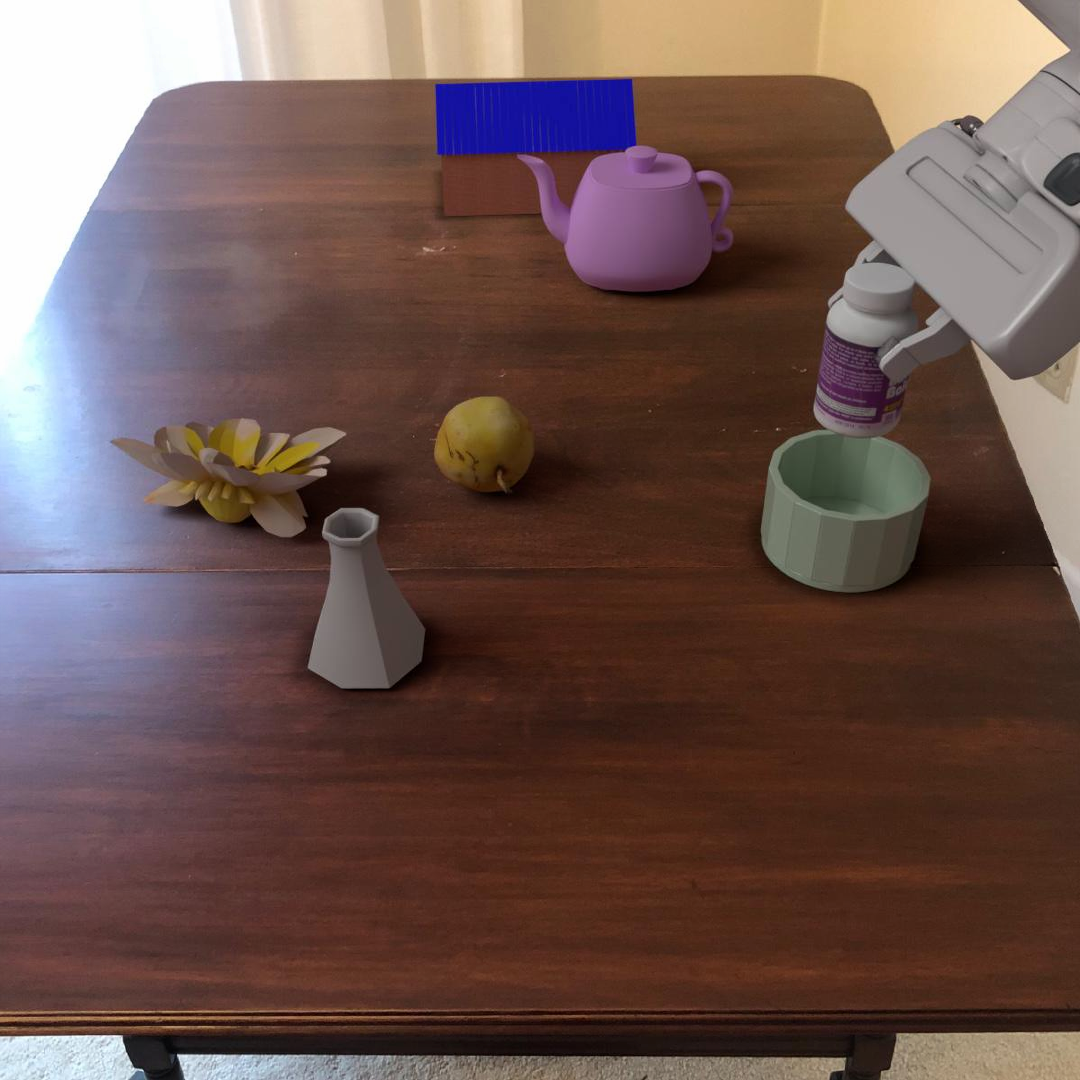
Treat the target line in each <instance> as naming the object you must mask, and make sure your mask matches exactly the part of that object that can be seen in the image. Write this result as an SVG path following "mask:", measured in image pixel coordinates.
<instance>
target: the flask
mask: <svg viewBox="0 0 1080 1080" xmlns="http://www.w3.org/2000/svg"><path fill="white" fill-rule="evenodd" d="M379 523H380V515H378V514H376V513H374V512H372V511H370V510H368V509H366V508H363V507H340V508H339V509H338V510H336V511H335V512H333V513H331V514H330V515H329V516H327V517H326V518H325V519H324V523H323V527H322V530H321V536H322V538H323V539H324V541H327V542H328V546H329V553H330V554H329V555H330V569H329V583H328V586H327V591H326V594H325V599H324V603H323V605H322V608H321V612H320V615H319V619H318V622H317V626H316V629H315V633H314V638H313V641H312V646H311V651H310V655H309V659H308V660H309V661H308V664H307V669H308V670H310V671H312V672H313V673H315V674H316V675H318V676H320V677H322V678H323V679H325V680H327V681H328V682H330V683H332V684H333V685H335V686H337V687H338V688H340V689H390V688H392V687H393V686H394V685H395V684H396V683H398V682H399V681H400V680H401V679H402V678H404V677H405V676H406V675H407V674H409V672H410V671H412V670H413V669H414V668H415V667H417V666H418V665H419V664H420V663H421V662H422V661H423V652H424V643H425V634H426V628H425V627H424V625H423V623H422V621H421V620H420V618H419V617H418V616H417V614H416V613H415V611H414V610H413V608H412V607H411V606H410V604H409V602H408V601H407V599H406V598H405V596H404V595H403V593H402V592H401V590H400V588H399V587H398V585H397V584H396V582H395V580H394V578H393V577H392V575H391V574H390V572H389V570H388V569H387V566H386V565H385V563H384V559H383V557H382V554H381V552H380V548H379V546H378V541H377V539H378V538H377V535H378V529H379Z"/></svg>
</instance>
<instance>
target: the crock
mask: <svg viewBox="0 0 1080 1080" xmlns="http://www.w3.org/2000/svg"><path fill="white" fill-rule="evenodd" d="M766 478H767V479H766V487H765V495H764V503H763V510H762V518H761V526H760V533H761V534H760V542H761V545H762V546H761V547H762V548H763V551H764V553H765V555H766V556H767V558H768V559H769V561H770V562H771V563H772V564H773V565H774V566H775V568H777V569H778V570H779V571H780V572H782V573H783V574H785V575H786V576H788V577H789V578H791V579H793V580H795V581H797V582H799V583H802V584H804V585H806V586H809V587H812V588H815V589H820V590H824V591H829V592H834V593H845V594H846V593H864V592H870V591H876V590H879V589H882V588H886V587H888V586H890V585H892V584H894V583H896V582H897V581H899V580H900V579H901V578H902V577H904V576H905V575H906V574H907V572H908V571H909V570H910V568H911V566H912V564H913V561H914V560H915V556H916V551H917V547H918V543H919V538H920V534H921V529H922V525H923V521H924V517H925V513H926V508H927V504H928V499H929V495H930V489H931V488H930V487H931V481H932V477H931V475H930V473H929V472H928V470H927V468H926V466H925V464H924V462H923V461H922V459H920V457H918V455H915V453H913V452H911V451H910V450H909V449H908V448H906V446H903V444H900V443H899V442H896V441H893V440H891V439H888V438H885V437H883V436H879V437H874V438H864V439H862V438H851V437H846V436H842V435H839V434H836V433H834V432H832V431H830V430H828V429H816V430H811V431H808V432H805V433H801V434H799V435H794V436H792V437H789V438H788V439H787V440H786V441H784V443H782V444H781V445H780V446H778V447H777V448H776V449H775V450H774V451H773V453H772V456H771V460H770V462H769V465H768V471H767V477H766Z"/></svg>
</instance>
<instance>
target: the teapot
mask: <svg viewBox="0 0 1080 1080" xmlns="http://www.w3.org/2000/svg"><path fill="white" fill-rule="evenodd" d="M517 157H518V158H519V159H520V160H521V161H523V162H524V163H525V164H526V165H527V166H529V167H530V168H531V170H532V171H533V173H534V174H535V177H536V179H537V182H538V186H539V193H540V203H541V211H542V213H541V216H542V220H543V223H544V225H545V226H546V228H547V231H549V233H550V234H551V236H553V237H554V239H556V240H557V241H559V242H560V243H562V245H564V252H565V255H566V258H567V262H568V263H569V266H570V267H571V269H572V270H573V272H574V273H575V274H576V276H577V277H578V278H579V279H580V281H582V282H583V283H585V284H587V285H589V286H591V287H595V288H598V289H600V290H604V291H621V292H638V293H639V292H640V293H641V292H656V291H657V292H658V291H673V290H676V289H679V288H682V287H686V286H688V285H691V284H692V283H694V282H695V281H696V280H697V279H698V278H699V277H700V276H701V275H702V273H703V272H704V271H705V270H706V268H707V267H708V266H709V263H710V261H711V257H712V252H713V253H718V254H719V253H723V252H726V251H728V250H729V249H730V248H731V247H732V245H733V243H734V233H733V231H732V230H731V229H730V228H729V227H726V226H725V227H724V226H723V224H724V222H725V220H726V218H727V216H728V214H729V212H730V209H731V206H732V203H733V199H734V189H733V185H732V184H731V182H730V180H729V179H728V178H727V177H726V176H725V175H723V174H722V173H720V172H718V171H715V170H709V169H707V170H700V171H697V172H695V170H694V169H693V167H692V165H691V163H690V162H689V161H688V160H687V159H686V158H685V157H683V156H681V155H678V154H674V153H667V152H659V151H658V150H657V148H655V147H652V146H649V145H637V146H633V147H630V148H628V149H626V151H625V152H622V153H612V154H606V155H602V156H599V157H597V158H595V159H594V160H592V161H591V163H590V165H589V166H588V168H587V170H586V172H585V174H584V176H583V178H582V180H581V182H580V184H579V186H578V188H577V191H576V193H575V195H574V198H573V200H572V204H571V207H570V208H569V207H568V206H566V205H565V204H564V203H562V202H561V200H560V199H559V197H558V195H557V192H556V187H555V180H554V176H553V172H552V170H551V168H550V167H549V165H548V164H547V163H546V162H544V161H543V160H541V159H539V158H536V157H532V156H528V155H517ZM705 183H706V184H707V183H712V184H715V185H717V186H718V187H720V188H721V189H722V198H721V202H720V205H719V207H718V209H717V211H716V213H715V216H714V217H713V220H712V222H711V216H710V211H709V208H708V203H707V201H706V199H705V195H704V192H703V190H702V188H701V185H700V184H705ZM718 236H724V237H725V239H723V240H721V241H717V237H718Z"/></svg>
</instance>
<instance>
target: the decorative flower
mask: <svg viewBox="0 0 1080 1080" xmlns="http://www.w3.org/2000/svg"><path fill="white" fill-rule="evenodd" d="M155 431H156V432H155V433H154V436H153V444H154V445H152V444H149V443H147V442H144V441H141V440H138V439H136V438H129V437H122V436H120V437H117V438H115V439H112V440H110V441H109V443H110V444H112V445H113V446H115V447H116V448H118V449H119V450H121V452H124V453H125V454H126V455H128V456H129V457H130V458H132V459H133V460H135V461H136V462H138V463H139V464H141V465H143V466H144V467H146V468H148V469H149V470H151V471H154V472H156V473H158V474H160V475H162V476H165V477H167V478H170V479H172V480H170V481H168V482H167V483H164V484H163V485H162V486H160V487H158V488H156V489H155V490H154V491H152V492H151V493H150V494H148V495H146V496H145V498H143V500H142V503H146V504H150V505H161V506H168V507H180V506H184V505H186V504H188V503H189V502H191V501H192V500H193V499H195V501H198V500H199V502H200V504H201V505H202V507H203V508H204V509H205V511H206V512H207V513H208V514H209V515H210V516H211V517H212V518H214V520H216V521H218V522H221V523H231V524H234V523H241V522H242V521H245V519H247V518H249V517H250V516H251V515H252V516H253V518H254V519H255V521H256V522H257V523H258V524H259V525H260V526H261V527H262V528H263V529H264V530H265V531H266V532H267V533H269V534H272V535H274V536H277V537H279V538H292V537H294V536H296V535H298V534H299V533H301V532H303V531H304V530H305V529H307V525H306V521H305V519H304V517H306V518H308V517H309V516H308V513H307V511H306V509H305V506H304V504H303V501H302V499H301V497H300V495H299V493H298V491H297V490H299V489H302V488H305V487H306V486H307V485H310V484H311V483H313V482H316V481H317V480H319V479H322V478H323V477H326V476H327V474H328V473H327V472H328V469H326V468H323V467H325V466H327V465H328V464H330V463H331V459H329V458H328V457H327V456H325V455H324V454H326V453H327V452H328V451H330V449H332V448H333V447H334V446H336V444H337V443H338V442H339V441H341V440H342V439H343V438H344V437H345V436H347V432H345V431H343V430H340V429H337V428H333V427H330V426H326V427H317V428H316V427H315V428H313V429H310V430H308V431H305V432H302V433H300V434H297V435H296V436H294V437H293V438H292V439H290V440H289V438H290V436H291V434H290V433H284V432H269V433H265V434H262V435H261V426H260V425H259V423H258V422H257V420H256V419H251V418H243V417H240V418H229V419H226V420H224V421H222V422H220V423H219V424H218V425H216V426H215V427H212V426H210V425H205V424H202V423H199V422H196V421H190V422H187V423H186V424H185V426H184V425H181V424H177V425H167V426H166V425H165V426H163V427H160V428H159V429H157V430H155ZM288 440H289V441H288ZM194 497H195V498H194Z"/></svg>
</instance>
